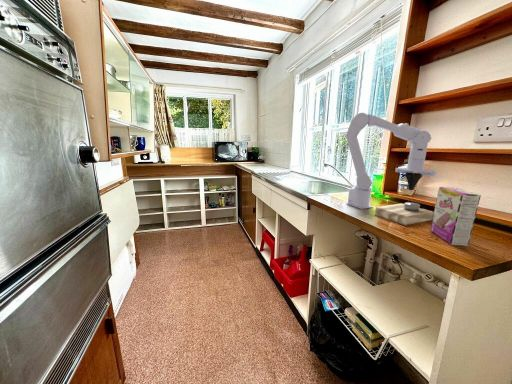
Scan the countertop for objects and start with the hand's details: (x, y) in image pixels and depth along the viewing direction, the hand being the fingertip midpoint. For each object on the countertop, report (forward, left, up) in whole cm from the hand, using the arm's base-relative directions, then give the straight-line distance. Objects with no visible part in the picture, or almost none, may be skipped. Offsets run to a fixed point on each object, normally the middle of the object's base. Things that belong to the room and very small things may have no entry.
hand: (411, 189), depth 95 cm
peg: (+6, -8, -10) cm, 14 cm away
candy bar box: (+24, -17, -11) cm, 31 cm away
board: (+4, -10, -10) cm, 15 cm away
